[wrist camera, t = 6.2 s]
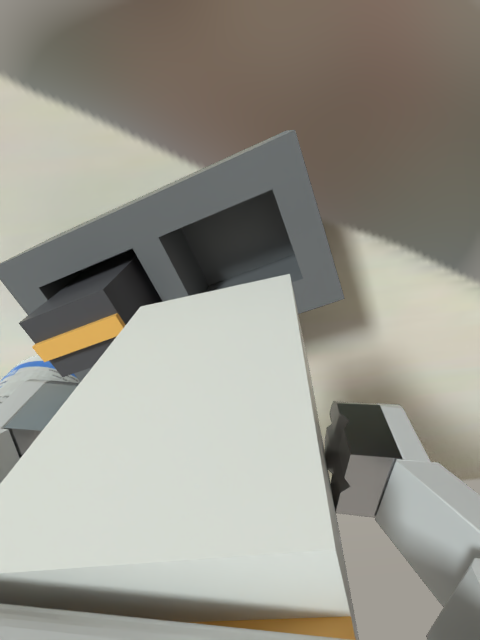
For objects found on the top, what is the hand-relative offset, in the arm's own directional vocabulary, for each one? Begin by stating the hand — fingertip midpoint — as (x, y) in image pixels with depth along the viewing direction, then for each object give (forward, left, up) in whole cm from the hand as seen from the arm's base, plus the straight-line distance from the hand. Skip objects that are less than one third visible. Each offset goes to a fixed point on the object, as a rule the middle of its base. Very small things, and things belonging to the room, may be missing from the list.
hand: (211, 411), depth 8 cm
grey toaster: (-4, 0, -18) cm, 18 cm away
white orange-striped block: (0, 0, -4) cm, 4 cm away
